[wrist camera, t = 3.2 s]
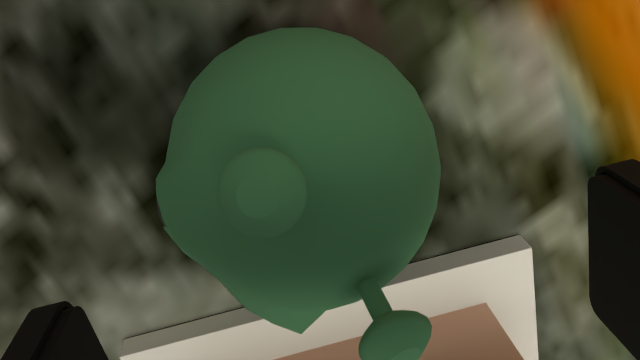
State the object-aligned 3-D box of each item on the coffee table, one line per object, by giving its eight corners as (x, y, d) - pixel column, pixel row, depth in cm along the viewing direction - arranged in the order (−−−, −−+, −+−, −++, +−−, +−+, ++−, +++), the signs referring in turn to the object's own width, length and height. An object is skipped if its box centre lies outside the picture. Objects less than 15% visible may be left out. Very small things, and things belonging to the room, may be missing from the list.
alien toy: (119, 113, 18) (-2, 301, 9) (308, -42, 17) (391, -9, 8) (258, 252, 21) (274, 503, 12) (428, 128, 20) (591, 299, 10)
